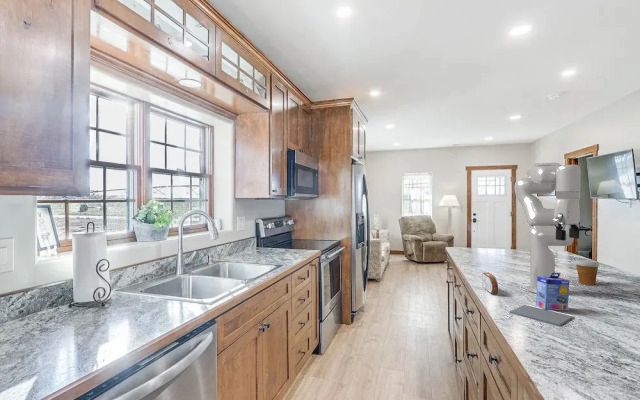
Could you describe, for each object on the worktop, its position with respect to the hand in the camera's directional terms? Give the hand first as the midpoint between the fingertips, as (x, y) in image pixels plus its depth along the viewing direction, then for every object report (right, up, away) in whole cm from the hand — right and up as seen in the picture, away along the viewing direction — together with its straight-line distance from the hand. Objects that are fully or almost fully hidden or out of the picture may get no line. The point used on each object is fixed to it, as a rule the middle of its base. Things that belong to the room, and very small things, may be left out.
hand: (567, 239), depth 123 cm
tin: (-17, -29, +26) cm, 42 cm away
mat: (-14, -28, -5) cm, 32 cm away
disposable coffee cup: (+41, -29, +39) cm, 63 cm away
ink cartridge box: (-6, -28, +1) cm, 29 cm away
